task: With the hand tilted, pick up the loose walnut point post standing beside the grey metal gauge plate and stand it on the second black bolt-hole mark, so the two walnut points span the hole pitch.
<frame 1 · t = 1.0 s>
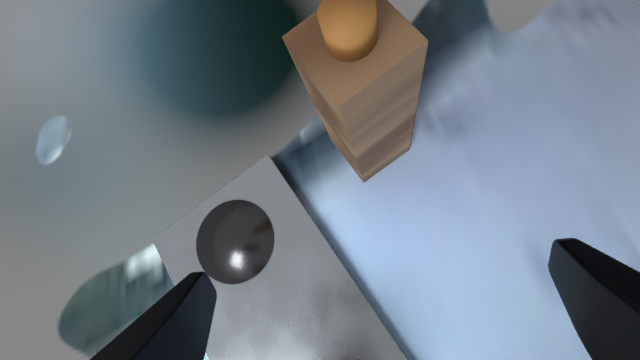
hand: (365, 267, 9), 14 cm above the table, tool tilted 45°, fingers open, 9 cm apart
gauge plate: (283, 320, 22), on the table
point post: (369, 145, 24), on the table
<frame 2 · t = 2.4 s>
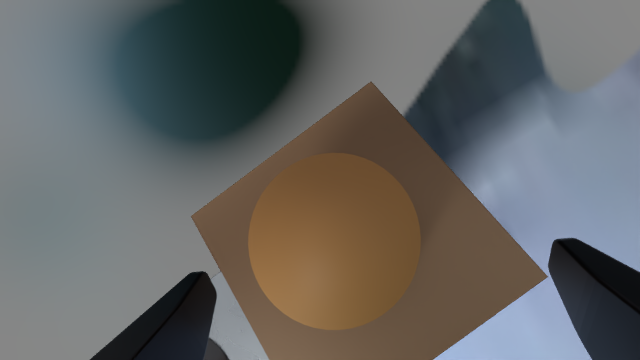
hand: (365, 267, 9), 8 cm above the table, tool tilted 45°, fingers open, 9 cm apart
point post: (376, 254, 17), on the table
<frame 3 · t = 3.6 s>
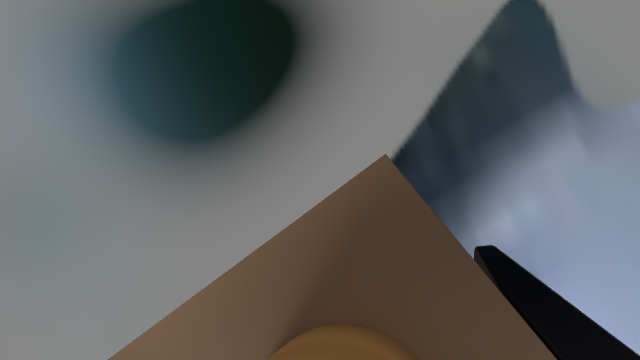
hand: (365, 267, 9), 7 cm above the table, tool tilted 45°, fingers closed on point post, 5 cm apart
point post: (379, 295, 15), on the table, touching gripper
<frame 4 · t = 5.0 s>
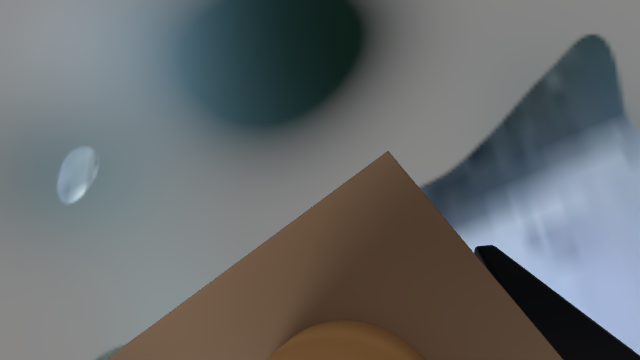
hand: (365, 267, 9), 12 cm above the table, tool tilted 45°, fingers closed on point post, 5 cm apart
point post: (380, 294, 15), point 6 cm above the table, touching gripper
when the fingers open (8 cm above the table, at t = 6.8 s): point post stays where it is, resting on gauge plate.
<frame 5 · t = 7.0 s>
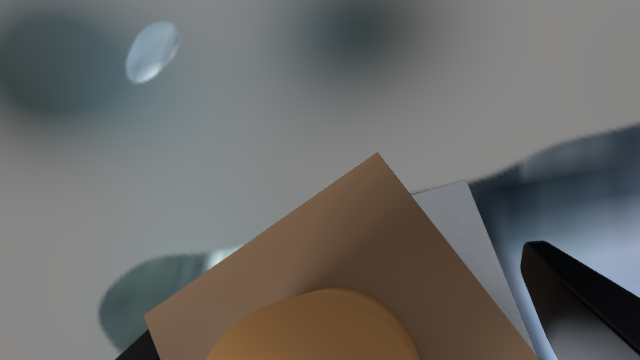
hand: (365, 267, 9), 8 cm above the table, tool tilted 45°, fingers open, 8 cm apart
point post: (381, 294, 15), point 1 cm above the table, touching gauge plate
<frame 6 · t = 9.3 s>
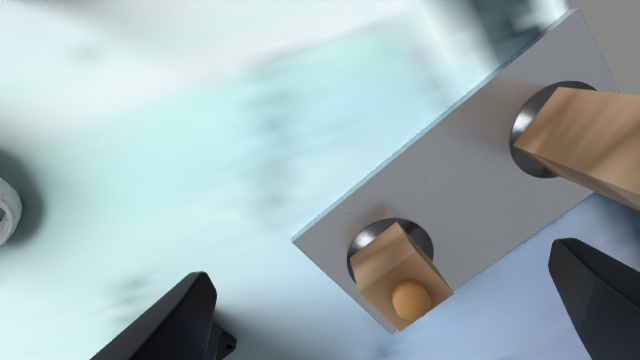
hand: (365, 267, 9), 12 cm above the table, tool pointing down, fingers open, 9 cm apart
gauge plate: (464, 194, 22), on the table
point post: (557, 133, 20), point 1 cm above the table, touching gauge plate
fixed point: (390, 258, 22), resting on gauge plate
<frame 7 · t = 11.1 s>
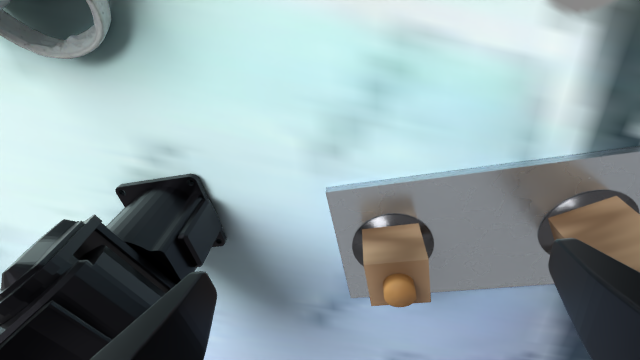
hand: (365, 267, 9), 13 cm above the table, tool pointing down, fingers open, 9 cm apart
gauge plate: (481, 231, 24), on the table
point post: (585, 228, 22), point 1 cm above the table, touching gauge plate
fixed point: (392, 246, 24), resting on gauge plate
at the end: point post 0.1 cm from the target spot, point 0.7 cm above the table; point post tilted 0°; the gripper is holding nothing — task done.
